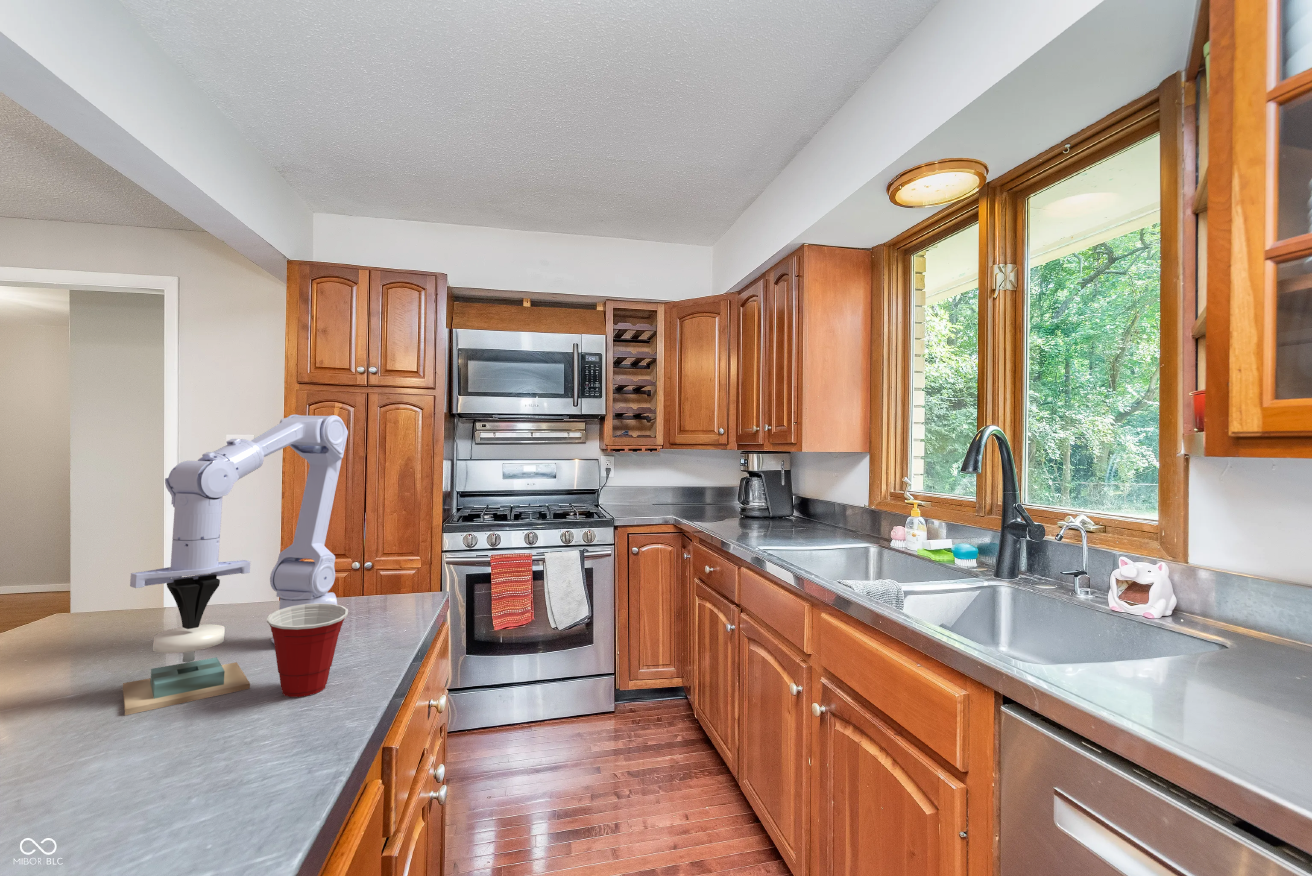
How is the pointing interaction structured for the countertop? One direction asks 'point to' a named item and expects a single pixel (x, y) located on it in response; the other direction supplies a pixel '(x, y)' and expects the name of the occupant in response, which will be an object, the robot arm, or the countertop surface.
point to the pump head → (188, 640)
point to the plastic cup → (305, 645)
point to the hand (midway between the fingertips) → (190, 627)
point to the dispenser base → (147, 703)
